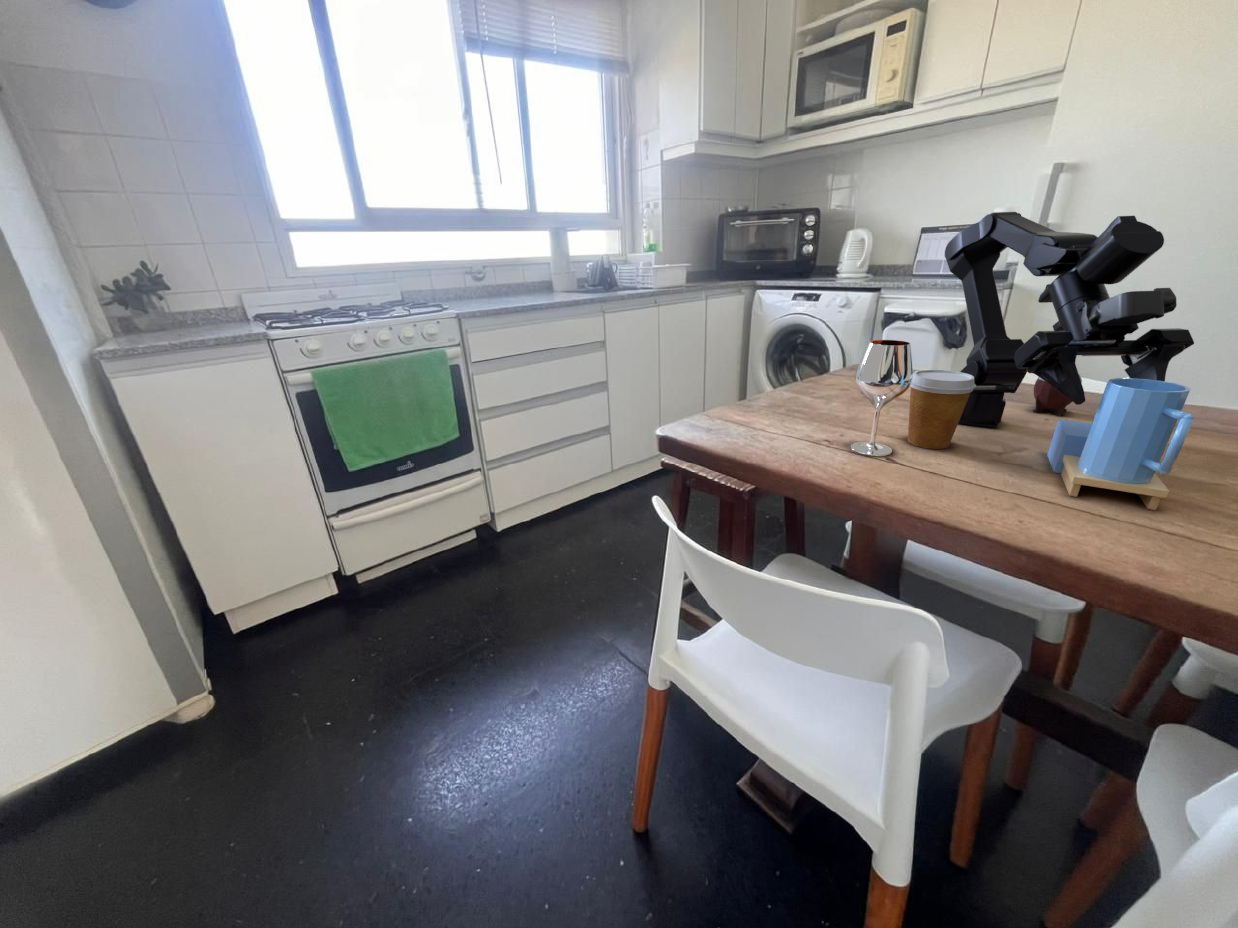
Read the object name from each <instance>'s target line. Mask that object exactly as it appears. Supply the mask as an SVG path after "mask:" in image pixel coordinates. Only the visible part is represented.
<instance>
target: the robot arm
mask: <svg viewBox="0 0 1238 928" xmlns="http://www.w3.org/2000/svg"><path fill="white" fill-rule="evenodd" d="M1164 244H1165V237H1164V234H1163V232H1162V231H1159V230H1157V229H1156V228H1155V227H1153V226H1151V225H1149V224H1147V223H1146V222H1142V221H1138V219H1137V217H1136V215H1118V216H1116V217H1115V218H1114V219H1113V220H1112V221H1111V222H1110V223H1109V224H1108V226H1107V227H1106V228H1105V230H1103V232H1102V233H1101V234H1100V235H1099V236H1097V235H1095V234H1093V233H1084V232H1067V231H1056V230H1055V229H1051V228H1049V227H1047V226H1045V225H1042V224H1040V223H1037V222H1036V221H1033V220H1031V219H1030V218H1026V217H1025V216H1022V214H1021V213H1020V212H1017V211H998V212H997V211H996V212H991V213H987V214H986V215H984V217H983V218H982V219H981V220H979V221H978V222H975V223H973V224H971V225H970V226H968V227H965V228H963V229H961V230H960V231H959V232H958V233H957V234H956V235H955V236H954V237H952V238H951V239H950V240H949V242H948V243H947V244H946V247H945V249H944V258H945V261H946V263H947V266H948V269H949V271H950V273H951V274H952V275H954V276H955V277H956V278H958V280H960V281H961V284H962V289H963V294H964V299H965V300H964V301H965V304H966V310H967V315H968V321H969V327H970V332H971V336H972V342H973V347H972V348H971V351H970V352H969V354H968V356H967V358H966V365H965V366H964V367H963V368H962V369H961V370H960V371H959V372H962V373H966V374H970V375H972V376H974V384H975V385H976V387H975V388H974V389H973V391H972V392H971V393H970V395H969V398H968V400H967V403H966V405H965V408H964V410H963V413H962V415H961V418H960V420H959V422H958V425H967V426H976V427H983V428H991V429H997V428H998V424H1000V423H1002V419H1003V415H1004V412H1005V408H1006V404H1007V402H1006V401H1007V400H1006V399H1005V398H1004V397H1005V394H1016V393H1017V391H1018V389H1019V387H1020V385H1021V384H1022V382H1023V380H1024V378H1025V377H1026V375H1027V373H1028V374H1034V375H1036V376H1037V378H1038V377H1040V378H1041V379H1043V380H1044V381H1046V382H1048V383H1049V384H1051V385H1052V386H1053V387H1055V388H1056V389H1057V390H1059V391H1060V392H1061V393H1062V394H1064V395H1065V396H1066V397H1067V398H1069V399H1070V400H1071V401H1072V403H1073V404H1075V405H1078V406H1079V405H1082V404H1084V403H1085V402H1086V396H1085V394H1086V393H1085V390H1084V386H1083V383H1081V380H1080V377H1081V376H1080V377H1079V375H1080V374H1079V371H1078V368H1077V365H1076V360H1077V356H1081V357H1120V358H1121V361H1122V364H1124V365H1125V366H1128V367H1126V368H1125V369H1124V372H1125V373H1126V374H1127V376H1128V378H1138V379H1150V380H1159V381H1165V382H1166V375H1167V371H1168V367H1169V364H1170V362H1171V360H1172V359H1173V358H1174V357H1177V356H1178V355H1180V354H1181V353H1183V351H1185V350H1187V349H1188V348H1190V347H1191V346H1193V345H1194V344H1195V340H1194V338H1193V336H1192V334H1191V332H1190V330H1189V329H1185V328H1175V327H1174V328H1151V329H1149V330H1148V331H1147V332H1145V333H1144V334H1142V335H1140V337H1137V338H1136V339H1130V340H1129V339H1126V337H1125V336H1126V335H1132V334H1133V333H1135V332H1136V331H1138V330H1139V329H1140V328H1139V324H1141V323H1143V322H1146V321H1147V322H1148V321H1150V320H1153V319H1161V318H1163V317H1164V316H1165V315H1166V314H1168V313H1172V312H1173V311H1174V310H1175V309H1176V308H1177V305H1178V304H1177V296H1176V294H1175V293H1174V291H1173V290H1172V289H1171V287H1156V288H1153V290H1132V291H1126V292H1121V293H1119V294H1117V295H1114V296H1112V297H1110V294H1109V293H1108V290H1107V287H1106V285H1115V284H1119V283H1120V282H1123V280H1124V279H1126V278H1127V277H1128V276H1129V275H1130V274H1132V273H1133V272H1134V271H1135V270H1137V269H1138V268H1139V267H1140V266H1142V264H1144V263H1145V262H1147V260H1148V259H1150V258H1151V257H1153V255H1154V254H1155V253H1157V252H1158V251H1159V250H1161V249H1162V248H1163V246H1164ZM1007 248H1008V249H1011V250H1012V251H1013V252H1016V253H1018V254H1019V255H1021V256H1022V257H1023V258H1024V259H1023V262H1022V264H1023V266H1024V267H1025V268H1026V269H1027V271H1029V272H1030V274H1032V275H1033V276H1034V277H1055V279H1053V281H1051V283H1047V284H1046V285H1045V288H1044V290H1043V292H1041V293H1040V295H1039V297H1038V299H1037V302H1038V303H1041V304H1042V303H1043V304H1044V303H1045V304H1046V303H1052V306H1053V308H1054V312H1055V314H1056V317H1057V320H1058V321H1056V322H1055V323H1054V324H1053V325H1052V328H1053V329H1052V330H1038V331H1037V332H1035V333H1034V334H1033V335H1032V336H1031V337H1030V338H1029V339H1028V340H1026V341H1025V342H1024V341H1023V340H1022V339H1021V338H1010V337H1009V336H1008V334H1007V330H1006V326H1005V321H1004V316H1003V311H1002V307H1001V306H1002V305H1001V303H1000V297H999V292H998V288H997V283H996V279H995V273H994V268H995V266H996V265H997V262H998V261H999V259H1000V257H1001V253H1002V252H1003V251H1005V250H1006V249H1007Z"/></svg>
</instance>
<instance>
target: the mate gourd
mask: <svg viewBox="0 0 1238 928" xmlns="http://www.w3.org/2000/svg"><path fill="white" fill-rule="evenodd" d="M1079 377H1080V380H1081V383H1082V382H1083V380H1082V377H1081V375H1080V374H1079ZM1082 384H1083V383H1082ZM1033 398H1034V400H1035V408H1034V409H1033V408H1032V412H1033V413H1035V414H1036V413H1050V414H1051V415H1055V416H1058V417H1064V415H1065V413H1066V412H1067V410H1068V409H1067V408H1066V407H1068V406H1069V405H1071V403H1073V401H1071V400H1070V399H1069V398H1067V397H1066V396H1065V395H1064V394H1062V393H1061V392H1060V391H1059V390H1057V389H1056V388H1055V387H1053V386H1052V385H1051V384H1049V383H1048V382H1046V381H1044V380H1043V379H1041V378H1040V377H1038V376H1037V378H1036V380H1035V383H1034V385H1033Z"/></svg>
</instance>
